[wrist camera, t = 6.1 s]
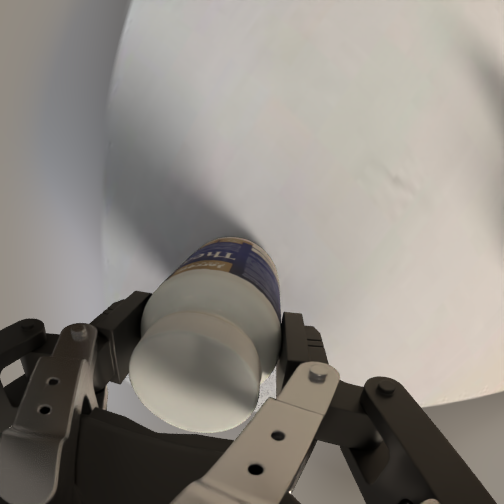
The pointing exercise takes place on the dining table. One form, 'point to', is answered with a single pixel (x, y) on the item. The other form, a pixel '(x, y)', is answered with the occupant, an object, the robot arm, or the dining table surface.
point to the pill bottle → (210, 337)
